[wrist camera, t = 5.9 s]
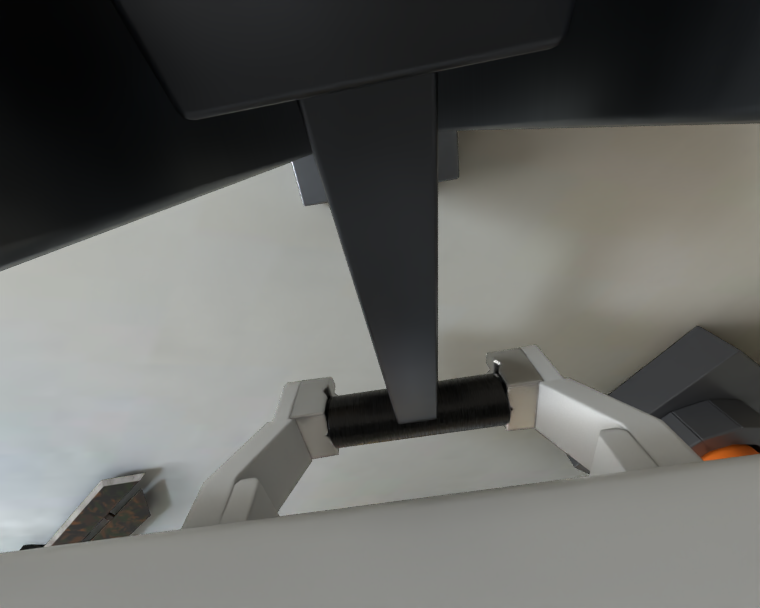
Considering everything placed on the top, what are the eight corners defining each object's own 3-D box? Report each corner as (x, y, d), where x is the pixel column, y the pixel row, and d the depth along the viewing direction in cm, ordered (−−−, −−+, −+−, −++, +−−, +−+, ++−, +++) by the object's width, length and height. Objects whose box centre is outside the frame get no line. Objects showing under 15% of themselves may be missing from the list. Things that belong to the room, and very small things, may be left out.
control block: (697, 324, 17) (784, 376, 13) (773, 384, 19) (865, 441, 15) (554, 436, 21) (593, 498, 17) (631, 474, 23) (679, 536, 19)
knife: (129, 453, 20) (113, 473, 19) (215, 496, 23) (206, 516, 22) (-21, 583, 28) (-39, 604, 26) (56, 605, 30) (42, 625, 29)
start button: (730, 433, 15) (770, 466, 14) (768, 457, 16) (809, 491, 15) (664, 473, 17) (694, 508, 15) (703, 493, 18) (734, 527, 16)
